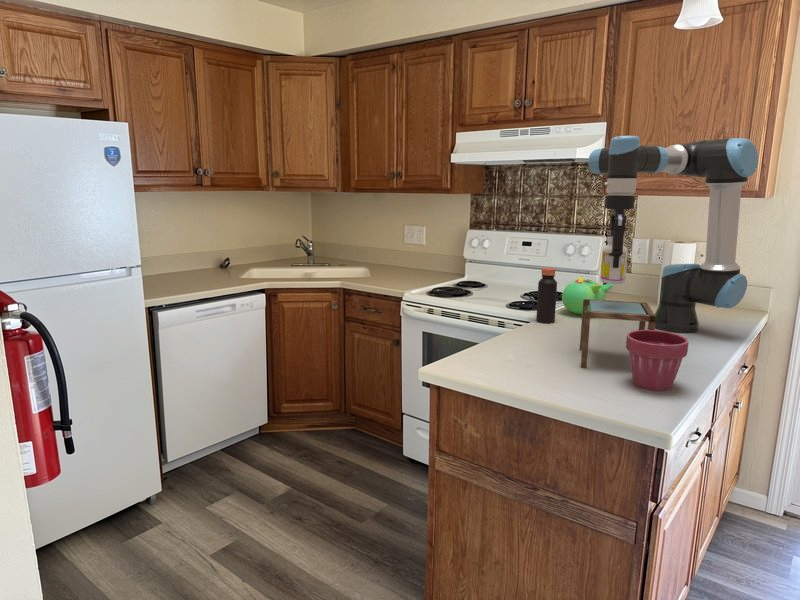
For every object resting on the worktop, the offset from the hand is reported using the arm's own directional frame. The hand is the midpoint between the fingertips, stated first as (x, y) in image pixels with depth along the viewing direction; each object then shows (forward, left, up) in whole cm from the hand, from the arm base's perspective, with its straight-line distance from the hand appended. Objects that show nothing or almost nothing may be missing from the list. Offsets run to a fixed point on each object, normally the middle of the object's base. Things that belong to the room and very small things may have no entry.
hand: (613, 277), depth 156 cm
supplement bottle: (0, 0, -2) cm, 2 cm away
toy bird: (+5, -60, -25) cm, 65 cm away
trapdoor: (-2, 0, -10) cm, 10 cm away
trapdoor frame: (-2, 0, -25) cm, 25 cm away
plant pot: (-10, +18, -25) cm, 32 cm away
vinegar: (+19, -43, -25) cm, 53 cm away
